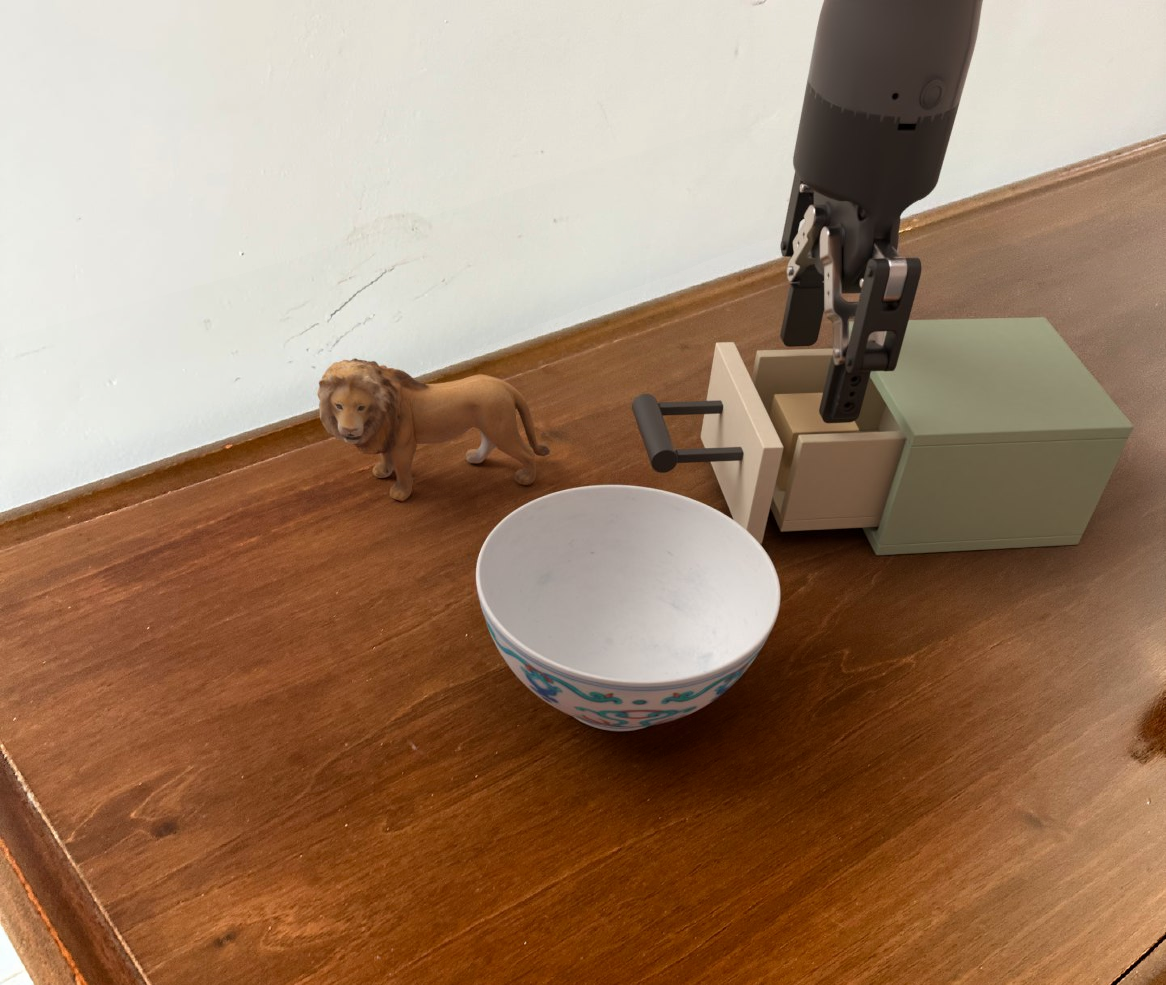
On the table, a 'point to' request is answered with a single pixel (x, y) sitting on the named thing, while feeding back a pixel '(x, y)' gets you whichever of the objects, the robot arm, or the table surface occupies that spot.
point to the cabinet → (994, 438)
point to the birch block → (799, 426)
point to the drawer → (753, 449)
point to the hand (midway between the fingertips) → (816, 380)
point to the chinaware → (626, 602)
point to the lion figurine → (422, 417)
